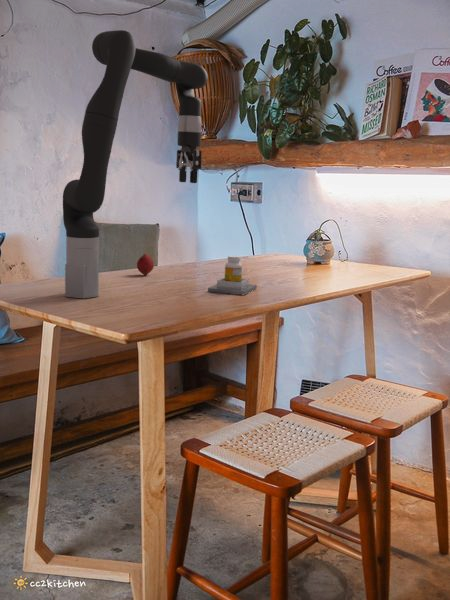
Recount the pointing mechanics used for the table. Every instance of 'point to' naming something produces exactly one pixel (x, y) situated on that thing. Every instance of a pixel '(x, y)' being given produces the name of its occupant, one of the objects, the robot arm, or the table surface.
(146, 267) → the red fruit
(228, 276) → the supplement bottle
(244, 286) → the plate
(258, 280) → the table surface
